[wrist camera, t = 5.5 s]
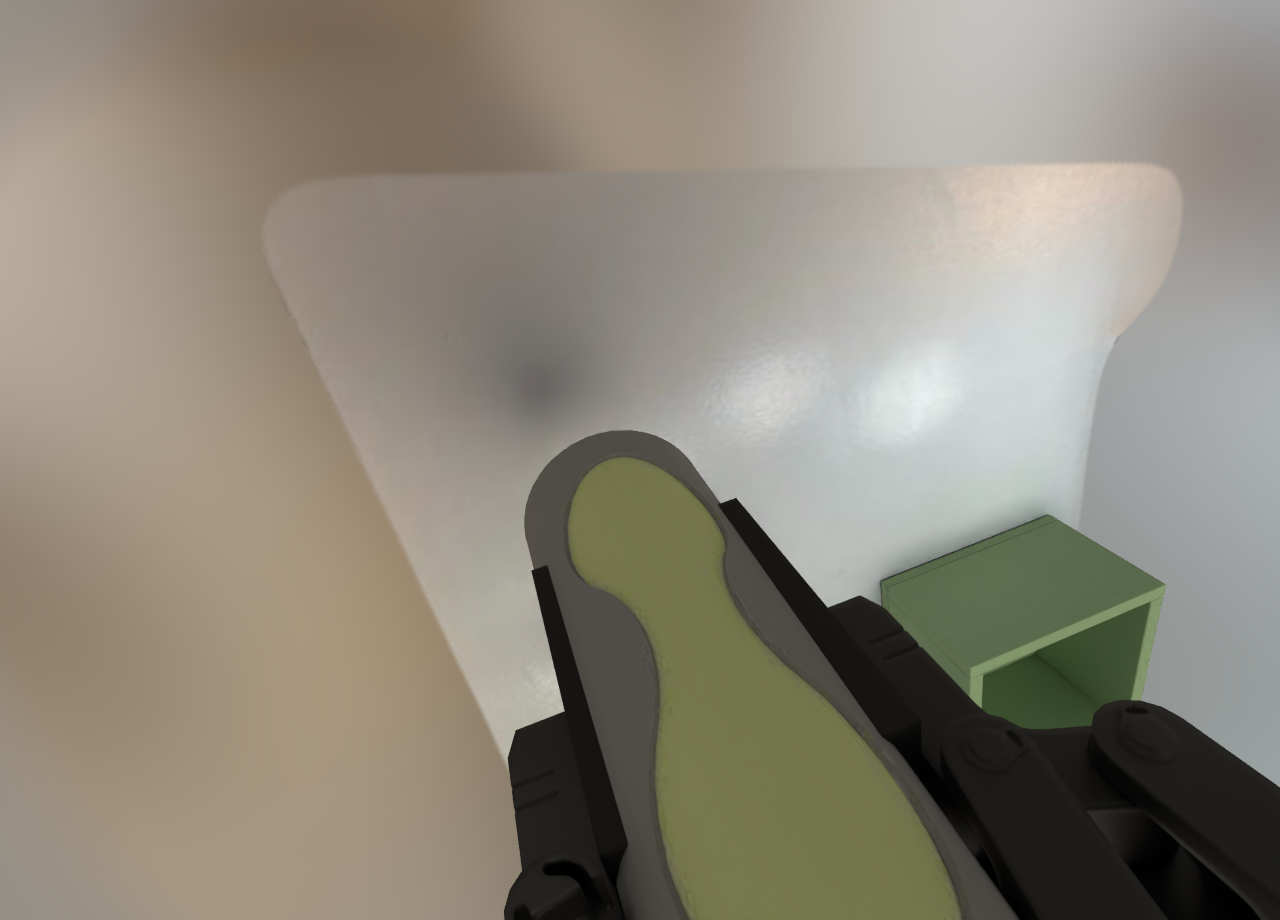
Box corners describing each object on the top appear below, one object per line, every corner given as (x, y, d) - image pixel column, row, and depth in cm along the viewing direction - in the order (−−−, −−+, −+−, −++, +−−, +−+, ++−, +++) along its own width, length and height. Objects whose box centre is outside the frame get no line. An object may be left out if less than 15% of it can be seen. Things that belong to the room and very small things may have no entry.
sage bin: (880, 580, 35) (970, 668, 29) (1049, 514, 36) (1166, 584, 31) (887, 714, 40) (966, 811, 34) (1036, 650, 41) (1134, 733, 36)
